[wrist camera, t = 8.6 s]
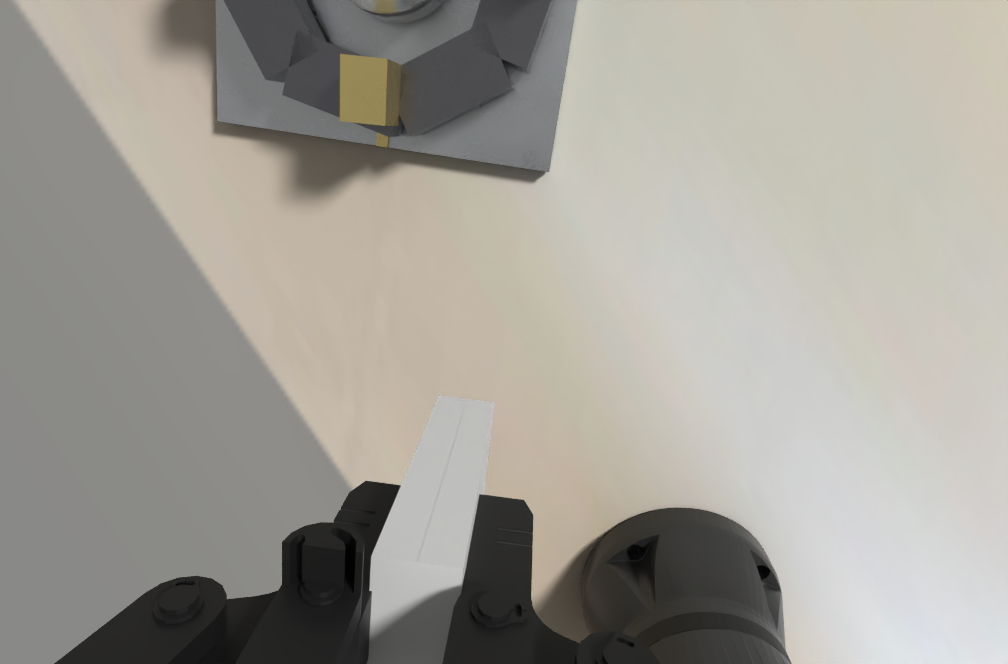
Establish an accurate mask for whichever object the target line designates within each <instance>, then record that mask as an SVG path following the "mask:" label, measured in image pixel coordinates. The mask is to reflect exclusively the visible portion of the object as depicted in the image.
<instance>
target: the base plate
mask: <svg viewBox="0 0 1008 664" xmlns="http://www.w3.org/2000/svg"><path fill="white" fill-rule="evenodd" d="M306 1H307V3H308V5H309V7H310V9H311V11H312V13H313V15H314V17H315V19H316V21H317V23H318V25H319V27H320V29H321V31H322V33H323V35H324V37H325V39H326V41H327V42H328V43H330V44H333V45H335V46H338V47H340V48H343V49H345V50H348V51H350V52H353V53H355V54H358V55H360V56H366V57H376V58H386V59H389V60H392V61H394V62H396V63H398V64H401V65H403V64H404V63H406V62H408V61H410V60H412V59H414V58H416V57H418V56H420V55H422V54H424V53H426V52H428V51H429V50H431V49H433V48H435V47H437V46H439V45H441V44H443V43H445V42H447V41H449V40H451V39H453V38H454V37H456V36H458V35H460V34H462V33H464V32H466V31H468V30H470V29H471V28H472V25H473V22H474V19H475V16H476V13H477V9H478V6H479V3H480V0H306ZM215 4H216V66H217V121H220V122H226V123H233V124H239V125H246V126H252V127H259V128H265V129H272V130H278V131H285V132H291V133H298V134H304V135H311V136H317V137H324V138H330V139H337V140H343V141H350V142H356V143H363V144H369V145H376V146H380V147H387V148H388V147H389V148H395V149H402V150H408V151H414V152H421V153H427V154H434V155H440V156H447V157H453V158H460V159H466V160H473V161H479V162H486V163H492V164H499V165H505V166H512V167H518V168H525V169H531V170H538V171H544V172H549V168H550V162H551V156H552V150H553V144H554V138H555V132H556V126H557V120H558V113H559V107H560V101H561V95H562V89H563V83H564V77H565V71H566V65H567V59H568V53H569V46H570V40H571V34H572V28H573V22H574V16H575V10H576V4H577V0H554V1H553V4H552V7H551V10H550V12H549V15H548V18H547V21H546V24H545V26H544V29H543V32H542V35H541V38H540V40H539V43H538V46H537V49H536V51H535V54H534V57H533V60H532V63H531V65H530V68H529V71H528V73H527V72H524V71H522V70H519V69H517V68H514V67H512V66H510V65H507V64H505V63H504V66H505V68H506V70H507V73H508V75H509V78H510V80H511V82H512V85H513V87H514V89H513V90H511V91H509V92H507V93H505V94H502V95H500V96H498V97H496V98H494V99H492V100H490V101H488V102H486V103H484V104H482V105H480V106H478V107H476V108H474V109H472V110H470V111H468V112H466V113H464V114H462V115H460V116H458V117H456V118H454V119H452V120H450V121H448V122H445V123H443V124H441V125H439V126H437V127H435V128H433V129H431V130H429V131H427V132H425V133H423V134H421V135H419V136H409V134H408V132H407V130H406V128H405V126H404V124H403V126H402V129H401V133H400V136H398V137H388V136H385V135H383V134H380V133H378V132H375V131H373V130H370V129H367V128H365V127H362V126H360V125H357V124H355V123H352V122H343V121H340V117H337V116H334V115H332V114H329V113H327V112H324V111H322V110H319V109H317V108H314V107H312V106H309V105H306V104H304V103H301V102H299V101H296V100H294V99H291V98H289V97H286V96H284V95H282V93H283V89H284V84H285V83H282V82H276V81H270V80H265V78H264V76H263V74H262V72H261V70H260V68H259V66H258V65H257V63H256V61H255V59H254V57H253V55H252V53H251V51H250V49H249V48H248V46H247V44H246V42H245V40H244V38H243V36H242V34H241V32H240V31H239V29H238V27H237V25H236V23H235V21H234V19H233V17H232V15H231V13H230V12H229V10H228V8H227V6H226V4H225V2H224V0H215Z"/></svg>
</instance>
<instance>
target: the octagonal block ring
mask: <svg viewBox="0 0 1008 664" xmlns="http://www.w3.org/2000/svg"><path fill="white" fill-rule="evenodd" d="M553 1H554V0H480V3H479V6H478V9H477V13H476V16H475V19H474V22H473V25H472V28H471V29H470V30H468V31H466V32H464V33H462V34H460V35H458V36H456V37H454V38H453V39H451V40H449V41H447V42H445V43H443V44H441V45H439V46H437V47H435V48H433V49H431V50H429V51H428V52H426V53H424V54H422V55H420V56H418V57H416V58H414V59H412V60H410V61H408V62H406V63H404V64H403V65H401V64H398V63H396V62H394V61H392V60H389V59H386V58H376V57H366V56H360V55H358V54H355V53H353V52H350V51H348V50H345V49H343V48H340V47H338V46H335V45H333V44H330V43H328V42H327V41H326V39H325V37H324V35H323V33H322V31H321V29H320V27H319V25H318V23H317V21H316V19H315V17H314V15H313V13H312V11H311V9H310V7H309V5H308V3H307V1H306V0H224V2H225V4H226V6H227V8H228V10H229V12H230V13H231V15H232V17H233V19H234V21H235V23H236V25H237V27H238V29H239V31H240V32H241V34H242V36H243V38H244V40H245V42H246V44H247V46H248V48H249V49H250V51H251V53H252V55H253V57H254V59H255V61H256V63H257V65H258V66H259V68H260V70H261V72H262V74H263V76H264V78H265V80H270V81H276V82H282V83H285V84H284V89H283V93H282V95H284V96H286V97H289V98H291V99H294V100H296V101H299V102H301V103H304V104H306V105H309V106H312V107H314V108H317V109H319V110H322V111H324V112H327V113H329V114H332V115H334V116H337V117H340V121H343V122H352V123H355V124H357V125H360V126H362V127H365V128H367V129H370V130H373V131H375V132H378V133H380V134H383V135H385V136H388V137H398V136H400V133H401V129H402V126H403V124H404V126H405V128H406V130H407V132H408V134H409V136H419V135H421V134H423V133H425V132H427V131H429V130H431V129H433V128H435V127H437V126H439V125H441V124H443V123H445V122H448V121H450V120H452V119H454V118H456V117H458V116H460V115H462V114H464V113H466V112H468V111H470V110H472V109H474V108H476V107H478V106H480V105H482V104H484V103H486V102H488V101H490V100H492V99H494V98H496V97H498V96H500V95H502V94H505V93H507V92H509V91H511V90H513V89H514V87H513V85H512V82H511V80H510V78H509V75H508V73H507V70H506V68H505V66H504V63H505V64H507V65H510V66H512V67H514V68H517V69H519V70H522V71H524V72H527V73H528V71H529V68H530V65H531V63H532V60H533V57H534V54H535V51H536V49H537V46H538V43H539V40H540V38H541V35H542V32H543V29H544V26H545V24H546V21H547V18H548V15H549V12H550V10H551V7H552V4H553Z"/></svg>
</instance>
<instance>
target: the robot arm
mask: <svg viewBox="0 0 1008 664" xmlns="http://www.w3.org/2000/svg"><path fill="white" fill-rule="evenodd" d="M494 405H495V402H487V401H479V400H472V399H464V398H456V397H448V396H440V395H439V397H438V399H437V401H436V404H435V406H434V409H433V411H432V413H431V416H430V418H429V420H428V423H427V425H426V428H425V430H424V432H423V435H422V437H421V439H420V442H419V444H418V446H417V449H416V451H415V454H414V456H413V458H412V461H411V463H410V465H409V468H408V470H407V473H406V475H405V477H404V480H403V482H402V484H401V485H393V484H386V483H378V482H371V481H365V482H364V483H362V484H361V485H359V486H358V487H357V488H355V489H354V490H352V491H351V492H349V494H348V496H347V498H346V500H345V501H344V503H343V505H342V507H341V510H340V511H339V512H338V514H337V516H336V517H335V519H334V523H316V524H312V525H307V526H304V527H302V528H300V529H298V530H296V531H294V532H292V533H291V534H290V535H289V536H288V537H287V538H286V539H285V540H284V541H283V542H282V585H281V587H280V589H279V590H278V591H275V592H272V593H269V594H265V595H260V596H253V597H245V598H235V599H227V595H226V593H225V591H224V588H223V586H222V585H221V584H219V583H218V582H216V581H215V580H213V579H211V578H205V577H200V576H191V577H181V578H176V579H173V580H170V581H167V582H164V583H161V584H159V585H158V586H156V587H154V588H153V589H151V590H149V591H148V592H146V593H145V594H143V595H142V596H141V597H139V598H138V599H137V600H136V601H135V602H133V603H132V604H130V605H129V606H128V607H127V608H125V609H124V610H123V611H122V612H120V613H119V614H118V615H116V616H115V617H114V618H112V619H111V620H110V621H109V622H107V623H106V624H105V625H104V626H102V627H101V628H100V629H98V630H97V631H96V632H94V633H93V634H92V635H91V636H89V637H88V638H87V639H85V640H84V641H83V642H82V643H80V644H79V645H78V646H77V647H75V648H74V649H73V650H71V651H70V652H69V653H68V654H66V655H65V656H64V657H62V658H61V659H60V660H58V661H57V662H56V663H55V664H791V662H790V659H789V657H788V655H787V652H786V649H785V634H784V619H783V604H782V592H781V587H780V583H779V580H778V577H777V574H776V572H775V570H774V568H773V566H772V564H771V562H770V560H769V558H768V556H767V554H766V553H765V551H764V549H763V547H762V546H761V545H760V543H759V542H758V541H757V539H756V538H755V537H754V536H753V535H752V534H751V533H750V532H749V531H747V530H746V529H745V528H744V527H742V526H741V525H739V524H738V523H736V522H734V521H732V520H730V519H728V518H726V517H724V516H722V515H719V514H716V513H713V512H709V511H705V510H699V509H692V508H669V509H661V510H656V511H652V512H648V513H644V514H641V515H639V516H636V517H634V518H631V519H629V520H627V521H625V522H624V523H622V524H620V525H618V526H617V527H615V528H614V529H613V530H611V531H610V532H609V533H608V534H607V535H605V536H604V537H603V538H602V539H601V540H600V541H599V543H598V544H597V545H596V546H595V548H594V549H593V550H592V552H591V554H590V555H589V557H588V559H587V561H586V564H585V567H584V570H583V574H582V581H581V593H582V604H583V613H584V618H585V622H586V625H587V628H588V631H589V633H590V635H589V636H588V637H586V638H585V639H584V640H582V641H581V643H577V642H575V641H572V640H570V639H568V638H565V637H563V636H561V635H559V634H557V633H556V632H554V631H552V630H551V629H550V628H548V627H547V626H546V625H545V624H543V622H542V621H541V620H540V619H539V618H538V616H537V615H536V613H535V611H534V609H533V607H532V601H531V579H532V541H533V535H532V534H533V514H532V512H531V511H530V509H529V507H528V506H527V504H526V502H525V501H524V500H519V499H511V498H504V497H496V496H489V495H484V491H485V483H486V474H487V465H488V457H489V448H490V440H491V431H492V422H493V414H494Z"/></svg>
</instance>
